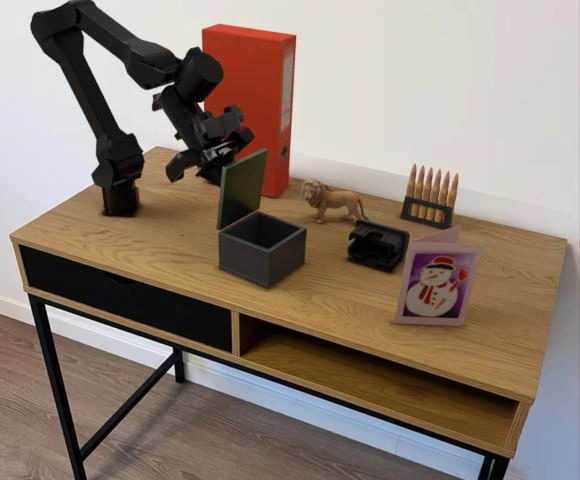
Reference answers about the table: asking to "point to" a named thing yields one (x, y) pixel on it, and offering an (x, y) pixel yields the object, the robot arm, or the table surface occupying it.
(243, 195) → the lid
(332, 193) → the lion figurine
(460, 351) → the table surface
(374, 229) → the end cap
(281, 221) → the bin
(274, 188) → the file binder
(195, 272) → the table surface
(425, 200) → the ammunition clip
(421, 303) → the greeting card
